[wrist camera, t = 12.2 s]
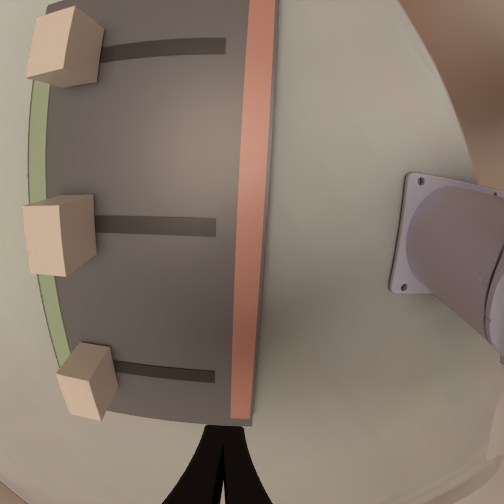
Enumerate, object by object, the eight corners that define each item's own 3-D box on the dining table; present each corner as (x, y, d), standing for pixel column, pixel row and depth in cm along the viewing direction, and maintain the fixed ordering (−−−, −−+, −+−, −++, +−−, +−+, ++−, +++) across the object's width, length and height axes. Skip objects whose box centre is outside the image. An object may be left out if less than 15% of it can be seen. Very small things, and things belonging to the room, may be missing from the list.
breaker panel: (277, -11, 14) (279, -23, 13) (251, 413, 23) (251, 427, 22) (58, 12, 14) (47, 4, 12) (77, 391, 23) (70, 402, 21)
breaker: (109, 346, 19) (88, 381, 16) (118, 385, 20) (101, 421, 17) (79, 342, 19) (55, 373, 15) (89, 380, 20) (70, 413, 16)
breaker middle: (93, 194, 16) (59, 205, 13) (96, 253, 17) (65, 276, 14) (60, 195, 16) (22, 206, 13) (64, 251, 17) (30, 273, 14)
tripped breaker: (104, 28, 13) (75, 5, 10) (96, 82, 14) (63, 68, 11) (70, 35, 13) (37, 17, 10) (62, 87, 14) (25, 77, 11)
